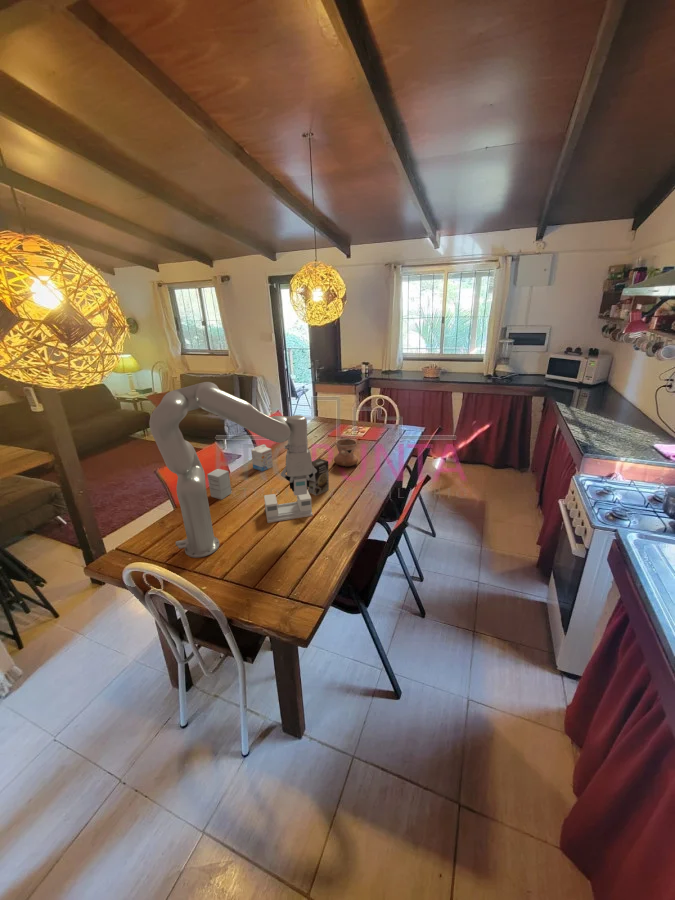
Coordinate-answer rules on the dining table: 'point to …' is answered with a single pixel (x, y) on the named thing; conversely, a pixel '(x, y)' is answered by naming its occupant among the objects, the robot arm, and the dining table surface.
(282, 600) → the dining table surface
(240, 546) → the dining table surface
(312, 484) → the coffee box
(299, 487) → the block
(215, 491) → the supplement box
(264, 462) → the ink box
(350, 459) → the ceramic jug
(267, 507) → the white channel bracket
